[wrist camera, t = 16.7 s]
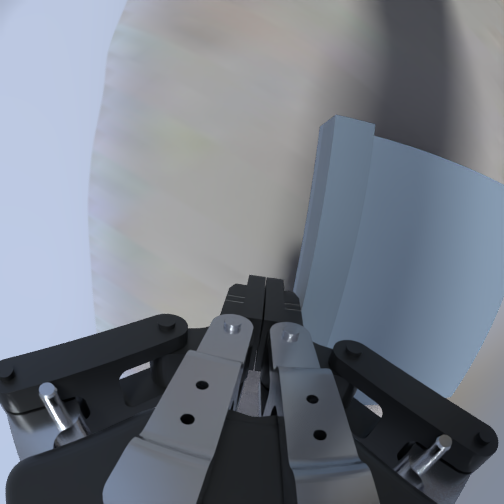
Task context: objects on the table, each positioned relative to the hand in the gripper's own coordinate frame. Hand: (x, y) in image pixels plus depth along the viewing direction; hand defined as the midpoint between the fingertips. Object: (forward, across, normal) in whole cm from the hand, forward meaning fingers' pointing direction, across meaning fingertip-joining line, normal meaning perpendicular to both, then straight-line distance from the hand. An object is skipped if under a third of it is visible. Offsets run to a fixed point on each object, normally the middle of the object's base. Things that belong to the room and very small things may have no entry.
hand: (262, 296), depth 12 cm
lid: (+2, -9, 0) cm, 9 cm away
